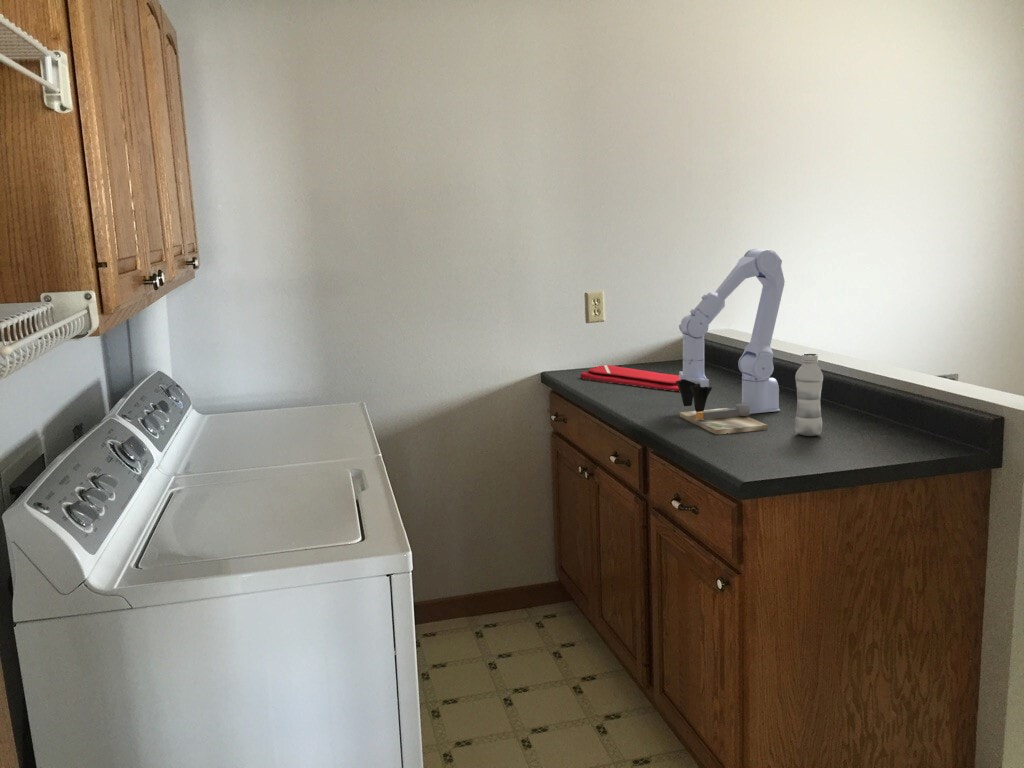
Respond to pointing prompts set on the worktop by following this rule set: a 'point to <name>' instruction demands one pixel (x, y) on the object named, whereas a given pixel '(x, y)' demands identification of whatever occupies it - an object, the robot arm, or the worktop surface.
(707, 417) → the grey bar
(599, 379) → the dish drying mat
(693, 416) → the light wood flat board
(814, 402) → the plastic bottle
